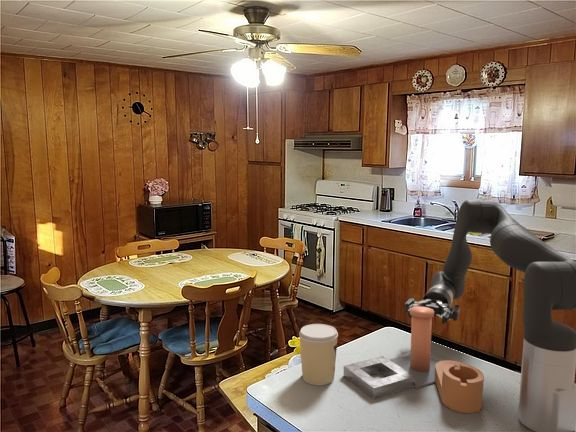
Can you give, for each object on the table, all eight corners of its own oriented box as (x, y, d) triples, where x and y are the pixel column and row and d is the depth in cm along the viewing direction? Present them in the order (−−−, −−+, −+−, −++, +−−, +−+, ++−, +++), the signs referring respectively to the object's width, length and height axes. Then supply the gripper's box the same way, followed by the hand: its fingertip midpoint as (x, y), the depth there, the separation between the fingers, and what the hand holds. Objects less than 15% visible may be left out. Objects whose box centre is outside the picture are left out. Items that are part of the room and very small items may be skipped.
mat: (461, 374, 112) (461, 373, 112) (417, 388, 106) (418, 386, 106) (421, 352, 124) (421, 351, 124) (380, 363, 118) (380, 362, 118)
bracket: (485, 414, 95) (488, 384, 94) (444, 410, 96) (446, 380, 95) (467, 372, 113) (469, 346, 111) (432, 369, 114) (433, 343, 113)
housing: (414, 386, 107) (415, 376, 106) (373, 398, 101) (373, 388, 101) (382, 365, 117) (382, 355, 117) (343, 375, 112) (343, 365, 112)
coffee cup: (344, 383, 108) (344, 334, 107) (307, 390, 105) (308, 340, 104) (327, 366, 117) (328, 321, 115) (293, 372, 114) (293, 326, 112)
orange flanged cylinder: (436, 369, 114) (439, 312, 112) (419, 374, 111) (421, 315, 109) (420, 360, 119) (422, 305, 117) (403, 365, 116) (404, 308, 114)
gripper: (414, 284, 138) (400, 299, 124) (464, 291, 132) (455, 308, 118) (413, 307, 139) (399, 325, 125) (462, 315, 133) (454, 336, 119)
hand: (426, 317), depth 121 cm, fingers open, 8 cm apart
